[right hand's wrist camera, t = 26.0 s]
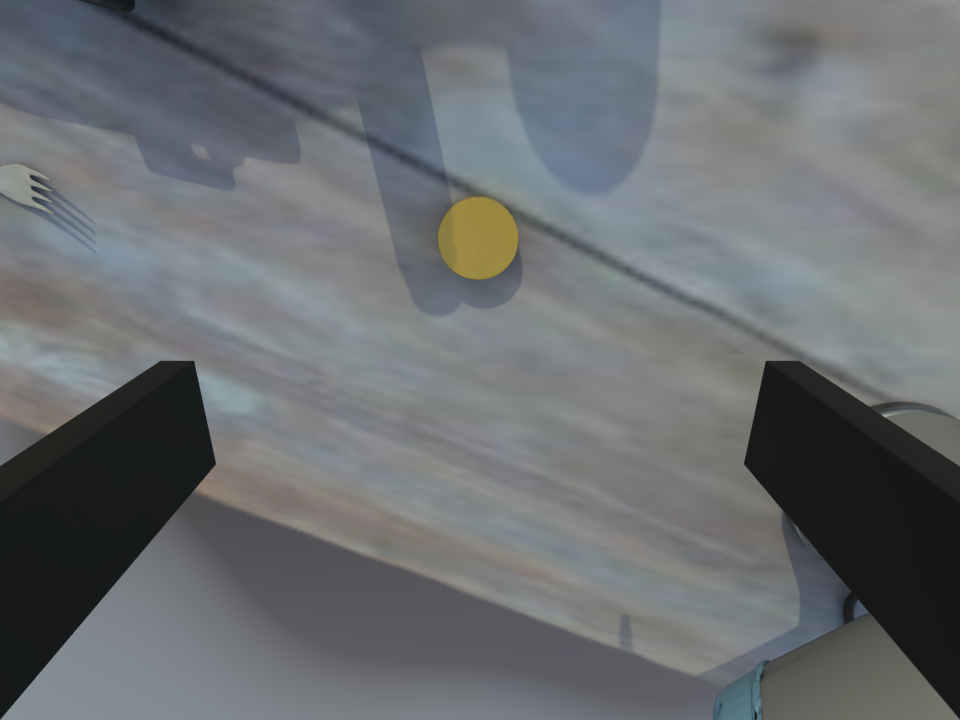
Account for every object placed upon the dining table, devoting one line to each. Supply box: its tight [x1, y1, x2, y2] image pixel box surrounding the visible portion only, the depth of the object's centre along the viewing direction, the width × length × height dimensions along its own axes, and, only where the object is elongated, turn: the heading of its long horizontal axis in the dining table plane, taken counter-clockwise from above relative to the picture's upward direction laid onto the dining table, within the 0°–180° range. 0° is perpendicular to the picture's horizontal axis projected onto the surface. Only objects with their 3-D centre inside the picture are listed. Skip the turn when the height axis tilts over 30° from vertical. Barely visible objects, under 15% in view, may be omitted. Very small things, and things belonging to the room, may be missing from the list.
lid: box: [438, 196, 518, 280], centre depth 36 cm, size 5×5×2 cm
